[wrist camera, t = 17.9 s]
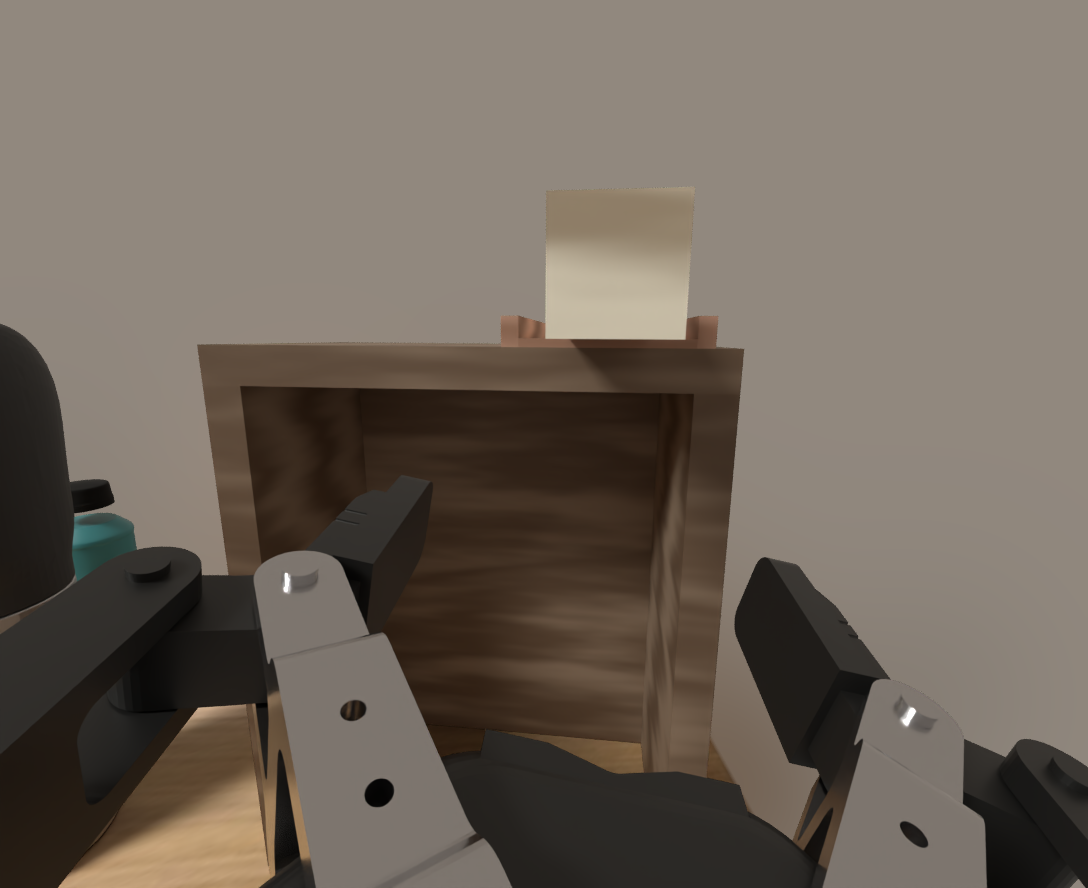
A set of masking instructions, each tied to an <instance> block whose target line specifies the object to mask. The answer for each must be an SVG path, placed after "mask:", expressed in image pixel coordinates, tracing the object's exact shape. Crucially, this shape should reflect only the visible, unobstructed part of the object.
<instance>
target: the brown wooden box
mask: <svg viewBox="0 0 1088 888" xmlns="http://www.w3.org/2000/svg"><path fill="white" fill-rule="evenodd" d="M717 325H718V316H697V317H693V318H688V319H687V322H686V338H685V340H666V339H545V332H546V323H542V322H539V321H535V320H532V319H528V318H524V317H521V316H501V344H488V343H484V344H483V343H481V344H480V343H348V342H339V343H273V344H210V345H197V346H198V354H199V361H200V368H201V375H202V382H203V390H204V398H205V405H206V412H207V419H208V427H209V435H210V442H211V449H212V457H213V464H214V471H215V478H216V486H217V493H218V500H219V508H220V515H221V523H222V530H223V538H224V545H225V552H226V559H227V567H228V574H229V575H233V576H242V575H255V572H256V571H257V569H258V568H259V567H260V566H261V565H262V564H263V563H264V562H266V561H267V560H269V559H271V558H273V557H275V556H278V555H280V554H284V553H288V552H293V551H305V550H306V549H307V548H308V547H309V545H310V544H311V543H312V542H313V541H314V540H315V539H316V538H317V537H318V536H319V535H320V534H321V533H322V532H323V531H324V530H325V529H326V528H327V527H328V526H329V525H330V524H331V523H332V522H333V521H335V520H336V518H337V516H338V515H339V514H340V513H341V512H342V511H345V508H346V507H347V506H348V505H349V504H350V503H351V502H352V501H353V500H354V499H355V498H356V497H358V496H360V495H363V494H365V493H367V492H370V491H372V490H378V491H383V492H387V491H388V489H389V488H390V487H391V486H392V485H393V484H394V482H395V481H396V480H397V479H398V478H399V477H400V476H401V475H405V476H409V477H414V478H418V479H423V480H427V481H431V482H432V483H433V492H432V499H431V506H430V512H429V519H428V526H427V532H426V539H425V544H424V548H423V551H422V554H421V557H420V560H419V562H418V564H417V566H416V568H415V570H414V572H413V574H412V575H411V577H410V579H409V581H408V583H407V585H406V586H405V588H404V590H403V592H402V594H401V596H400V597H399V599H398V601H397V603H396V605H395V607H394V608H393V610H392V612H391V614H390V616H389V618H388V619H387V621H386V623H385V625H384V627H383V629H382V630H381V632H383V633H384V634H385V635H386V636H387V638H388V640H389V642H390V644H391V646H392V649H393V651H394V653H395V656H396V658H397V660H398V662H399V665H400V667H401V669H402V672H403V674H404V676H405V678H406V681H407V683H408V685H409V688H410V690H411V692H412V694H413V697H414V699H415V701H416V704H417V706H418V708H419V710H420V713H421V715H422V717H423V720H424V722H425V724H433V725H445V726H456V727H467V728H478V729H489V730H500V731H511V732H523V733H534V734H545V735H556V736H567V737H578V738H589V739H601V740H612V741H623V742H634V743H641V748H642V758H643V768H644V773H651V772H674V771H678V772H682V773H687V774H692V775H696V776H701V777H705V778H707V766H708V755H709V744H710V732H711V721H712V708H713V698H714V686H715V674H716V664H717V663H716V662H717V652H718V641H719V628H720V618H721V607H722V595H723V584H724V572H725V560H726V549H727V538H728V527H729V515H730V504H731V492H732V481H733V469H734V457H735V447H736V435H737V423H738V412H739V401H740V389H741V377H742V367H743V354H744V349H737V348H723V347H716V339H717V327H718V326H717ZM246 707H247V714H248V721H249V729H250V736H251V743H252V751H253V758H254V765H255V773H256V780H257V788H258V795H259V802H260V810H261V817H262V824H263V832H264V839H265V846H266V854H267V861H268V851H267V838H266V817H265V802H264V793H263V785H262V777H261V769H260V761H259V754H258V746H257V738H256V730H255V722H254V714H253V707H252V704H246ZM268 866H269V862H268Z"/></svg>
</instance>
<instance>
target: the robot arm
mask: <svg viewBox="0 0 1088 888" xmlns="http://www.w3.org/2000/svg"><path fill="white" fill-rule="evenodd" d="M432 492H433V483H432V482H431V481H427V480H423V479H418V478H414V477H409V476H405V475H401V476H400V477H399V478H398V479H397V480H396V481H395V482H394V484H393V485H392V486H391V487H390V488H389V489H388V491H387V492H383V491H378V490H372V491H370V492H367V493H365V494H363V495H360V496H358V497H356V498H355V499H354V500H353V501H352V502H351V503H350V504H349V505H348V506H347V507H346V508H345V511H342V512H341V513H340V514H339V515H338V516H337V518H336V520H335V521H333V522H332V523H331V524H330V525H329V526H328V527H327V528H326V529H325V530H324V531H323V532H322V533H321V534H320V535H319V536H318V537H317V538H316V539H315V540H314V541H313V542H312V543H311V544H310V545H309V547H308V548H307V549H306V550H305V551H293V552H288V553H284V554H280V555H278V556H275V557H273V558H271V559H269V560H267V561H266V562H264V563H263V564H262V565H261V566H260V567H259V568H258V569H257V571H256V572H255V575H242V576H233V575H228V576H227V575H226V576H225V575H222V576H221V575H220V576H219V575H202V569H201V561H200V559H199V557H198V556H197V555H196V554H194V553H192V552H190V551H188V550H185V549H181V548H176V547H151V548H143V549H139V550H134V551H131V552H127V553H124V554H121V555H119V556H116V557H114V558H112V559H110V560H108V561H107V562H105V563H103V564H102V565H100V566H99V567H98V568H96V569H95V570H93V571H92V572H90V573H89V574H87V575H86V576H84V577H83V578H81V579H80V580H79V581H77V578H76V575H75V568H74V562H73V557H72V546H73V536H74V509H73V501H72V494H71V488H70V481H69V474H68V466H67V458H66V450H65V441H64V431H63V422H62V416H61V409H60V403H59V399H58V395H57V391H56V387H55V384H54V381H53V378H52V376H51V374H50V371H49V369H48V367H47V364H46V363H45V361H44V359H43V358H42V356H41V355H40V353H39V352H38V351H37V349H36V348H35V347H34V346H33V345H32V344H31V343H30V342H29V341H28V340H27V339H26V338H25V337H24V336H23V335H21V334H20V333H18V332H17V331H15V330H13V329H11V328H10V327H7V326H5V325H2V324H0V888H58V887H59V885H60V884H61V883H62V882H63V880H64V879H65V878H66V876H67V875H68V874H69V873H70V871H71V870H72V869H73V867H74V866H75V865H76V864H77V862H78V861H79V860H80V858H81V857H82V856H83V855H84V853H85V852H86V851H87V850H88V849H89V848H90V847H91V846H92V845H93V844H94V843H95V842H96V841H97V840H98V839H99V838H100V837H101V835H102V834H103V833H104V832H105V830H106V829H107V828H108V826H109V825H110V824H111V822H112V820H113V819H114V817H115V815H116V813H117V811H118V810H119V808H120V807H121V806H122V805H123V803H124V802H125V801H126V799H127V798H128V797H129V796H130V794H131V793H132V792H133V790H134V789H135V788H136V787H137V785H138V784H139V783H140V781H141V780H142V779H143V778H144V776H145V775H146V774H147V773H148V771H149V770H150V769H151V767H152V766H153V765H154V764H155V762H156V761H157V760H158V758H159V757H160V756H161V755H162V753H163V752H164V751H165V749H166V748H167V747H168V746H169V744H170V743H171V742H172V740H173V739H174V738H175V737H176V735H177V734H178V733H179V731H180V730H181V729H182V728H183V726H184V725H185V724H186V722H187V721H188V720H189V719H190V717H191V716H192V715H193V714H194V712H195V711H196V710H197V708H200V707H214V706H228V705H242V704H252V707H253V714H254V722H255V730H256V738H257V746H258V754H259V761H260V769H261V777H262V785H263V793H264V802H265V817H266V838H267V851H268V862H269V871H270V880H268V881H267V882H266V883H264V884H263V885H262V886H261V887H259V888H1070V887H1071V886H1072V885H1073V884H1074V883H1075V882H1076V881H1077V880H1078V879H1079V880H1080V881H1081V882H1082V884H1083V885H1084V886H1085V887H1086V888H1088V767H1087V766H1085V765H1084V764H1082V763H1081V762H1079V761H1078V760H1076V759H1074V758H1073V757H1071V756H1069V755H1068V754H1066V753H1064V752H1062V751H1060V750H1058V749H1056V748H1054V747H1052V746H1050V745H1047V744H1045V743H1042V742H1039V741H1035V740H1031V739H1023V740H1019V741H1018V742H1017V743H1016V745H1015V746H1014V747H1013V749H1012V750H1011V751H1010V752H1009V754H1008V755H1007V756H1006V757H1004V756H1002V755H999V754H997V753H995V752H992V751H990V750H988V749H986V748H983V747H981V746H979V745H977V744H974V743H972V742H970V741H967V740H965V739H964V736H963V733H962V731H961V729H960V727H959V726H958V724H957V723H956V721H955V720H954V719H953V718H952V717H951V716H950V715H949V714H948V712H947V711H945V710H944V709H943V708H942V707H941V706H940V705H939V704H937V703H936V702H935V701H933V700H932V699H930V698H929V697H928V696H926V695H925V694H923V693H921V692H920V691H918V690H916V689H914V688H912V687H910V686H908V685H906V684H903V683H900V682H897V681H894V680H891V679H890V678H889V677H888V675H887V674H886V673H885V671H884V670H883V669H882V668H881V666H880V665H879V663H878V662H877V661H876V660H875V658H874V657H873V655H872V654H871V653H870V651H869V650H868V649H867V647H866V646H865V645H864V643H863V642H862V641H861V640H860V639H858V635H857V634H856V633H855V631H854V630H853V629H852V627H851V626H849V625H847V624H848V622H847V620H846V619H845V618H844V616H843V615H842V614H841V612H840V611H839V610H838V608H837V607H836V606H835V605H834V604H833V603H832V602H830V601H829V600H828V599H827V598H825V597H824V596H823V595H822V594H821V593H820V592H818V591H817V590H816V589H815V588H814V587H813V585H812V584H811V583H810V581H809V580H808V578H807V577H806V576H805V574H804V573H803V571H802V570H801V569H800V567H799V566H798V565H796V564H793V563H788V562H784V561H779V560H775V559H770V558H766V557H764V558H761V559H760V560H759V561H758V562H757V564H756V566H755V568H754V571H753V573H752V575H751V578H750V580H749V583H748V585H747V587H746V589H745V592H744V594H743V596H742V599H741V601H740V603H739V606H738V608H737V611H736V615H735V633H736V637H737V639H738V642H739V644H740V647H741V649H742V651H743V653H744V656H745V658H746V661H747V663H748V666H749V668H750V670H751V672H752V675H753V678H754V680H755V682H756V684H757V687H758V689H759V692H760V694H761V697H762V699H763V701H764V704H765V706H766V708H767V711H768V713H769V716H770V718H771V720H772V723H773V725H774V728H775V730H776V732H777V735H778V737H779V739H780V742H781V744H782V747H783V749H784V752H785V754H786V756H787V759H788V761H789V763H792V764H797V765H801V766H806V767H810V768H815V769H817V770H818V772H819V774H820V775H819V777H818V779H817V780H816V782H815V784H814V785H813V787H812V789H811V792H810V795H809V797H808V800H807V803H806V805H805V808H804V811H803V813H802V816H801V819H800V822H799V824H798V827H797V830H796V832H795V835H794V838H793V841H792V840H791V839H789V838H788V837H787V836H786V835H784V834H783V833H782V832H780V831H779V830H777V829H776V828H775V827H773V826H772V825H770V824H769V823H767V822H765V821H764V820H762V819H760V818H759V817H757V816H755V815H754V814H752V813H749V812H747V808H746V805H745V802H744V798H743V795H742V792H741V789H740V786H739V785H737V784H732V783H728V782H723V781H719V780H714V779H710V778H705V777H701V776H696V775H692V774H687V773H682V772H678V771H674V772H651V773H628V774H616V773H612V772H609V771H606V770H604V769H602V768H600V767H598V766H596V765H594V764H592V763H590V762H588V761H585V760H583V759H581V758H579V757H577V756H575V755H573V754H571V753H569V752H567V751H565V750H562V749H560V748H558V747H556V746H554V745H552V744H550V743H547V742H542V741H538V740H533V739H529V738H524V737H520V736H515V735H511V734H506V733H502V732H497V731H493V730H488V729H486V731H485V736H484V740H483V744H482V748H481V751H468V752H462V753H456V754H451V755H448V756H444V757H441V758H440V756H439V754H438V751H437V749H436V747H435V745H434V742H433V740H432V738H431V735H430V733H429V731H428V729H427V726H426V724H425V722H424V720H423V717H422V715H421V713H420V710H419V708H418V706H417V704H416V701H415V699H414V697H413V694H412V692H411V690H410V688H409V685H408V683H407V681H406V678H405V676H404V674H403V672H402V669H401V667H400V665H399V662H398V660H397V658H396V656H395V653H394V651H393V649H392V646H391V644H390V642H389V640H388V638H387V636H386V635H385V634H384V633H383V632H381V630H382V629H383V627H384V625H385V623H386V621H387V619H388V618H389V616H390V614H391V612H392V610H393V608H394V607H395V605H396V603H397V601H398V599H399V597H400V596H401V594H402V592H403V590H404V588H405V586H406V585H407V583H408V581H409V579H410V577H411V575H412V574H413V572H414V570H415V568H416V566H417V564H418V562H419V560H420V557H421V554H422V551H423V548H424V544H425V539H426V532H427V526H428V519H429V512H430V506H431V499H432Z"/></svg>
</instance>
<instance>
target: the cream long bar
mask: <svg viewBox="0 0 1088 888" xmlns="http://www.w3.org/2000/svg"><path fill="white" fill-rule="evenodd" d="M694 195H695V187H672V188H634V189H594V190H554V191H546V332H545V339H666V340H685V338H686V322H687V305H688V290H689V274H690V258H691V243H692V242H691V241H692V227H693V211H694Z"/></svg>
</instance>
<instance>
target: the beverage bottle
mask: <svg viewBox="0 0 1088 888" xmlns="http://www.w3.org/2000/svg"><path fill="white" fill-rule="evenodd" d="M70 488H71V494H72V501H73V509H74V513H80V512H87V511H92V510H95V509H99V508H103V507H106V506H109V505H111V504H112V503H114V497H113V494H112V491H111V488H110V484H109V482H108V481H106V480H100V479H96V480H95V479H93V480H81V481H74V482H70ZM134 550H137V547H136V542H135V535H134V525H133V523H132V522H130V521H129V520H127V519H125V518H122V517H120V516H118V515H116V514H112V513H96V514H88V515H82V516H77V517H74V536H73V546H72V557H73V562H74V568H75V575H76V578H77V581H79V580H80V579H81V578H83V577H84V576H86V575H87V574H89V573H90V572H92V571H93V570H95V569H96V568H98V567H99V566H100V565H102V564H103V563H105V562H107V561H108V560H110V559H112V558H114V557H116V556H119V555H121V554H124V553H127V552H131V551H134Z"/></svg>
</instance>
